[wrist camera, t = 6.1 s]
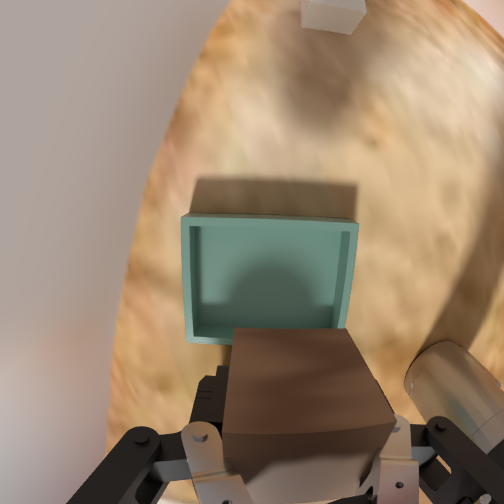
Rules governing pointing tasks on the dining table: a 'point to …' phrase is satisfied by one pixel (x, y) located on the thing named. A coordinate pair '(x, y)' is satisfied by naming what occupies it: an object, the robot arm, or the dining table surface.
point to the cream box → (332, 15)
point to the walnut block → (301, 414)
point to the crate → (264, 273)
